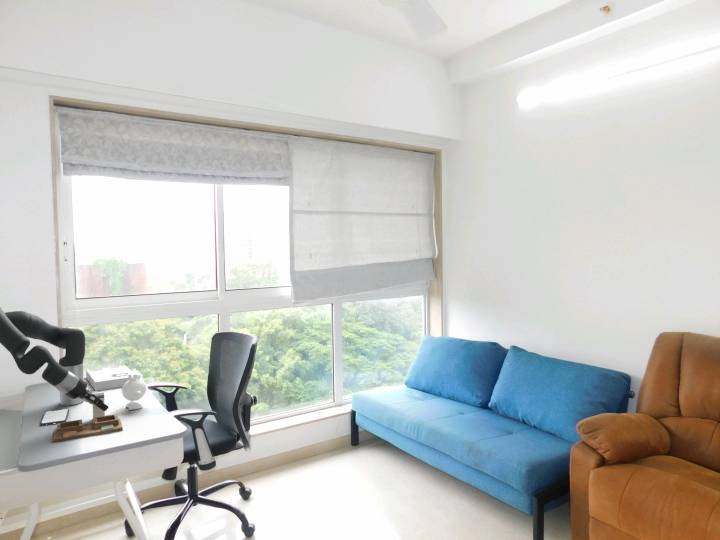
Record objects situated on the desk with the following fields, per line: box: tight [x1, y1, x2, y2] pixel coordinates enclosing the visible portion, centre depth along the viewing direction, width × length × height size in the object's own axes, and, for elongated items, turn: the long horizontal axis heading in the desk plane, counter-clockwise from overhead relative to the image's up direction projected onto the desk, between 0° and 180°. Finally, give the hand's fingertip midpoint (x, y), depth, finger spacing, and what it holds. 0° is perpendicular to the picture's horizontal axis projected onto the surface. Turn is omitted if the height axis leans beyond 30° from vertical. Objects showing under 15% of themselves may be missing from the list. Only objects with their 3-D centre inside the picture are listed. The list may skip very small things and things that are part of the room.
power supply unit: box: [85, 364, 135, 392], centre depth 255 cm, size 19×33×5 cm, turn 36°
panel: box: [52, 413, 123, 443], centre depth 182 cm, size 12×22×3 cm, turn 121°
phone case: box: [39, 408, 70, 426], centre depth 197 cm, size 9×2×16 cm
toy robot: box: [120, 373, 147, 411], centre depth 210 cm, size 15×10×15 cm, turn 40°
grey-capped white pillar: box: [92, 392, 106, 422], centre depth 195 cm, size 4×4×10 cm
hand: (103, 407), depth 197 cm, fingers closed on grey-capped white pillar, 5 cm apart
